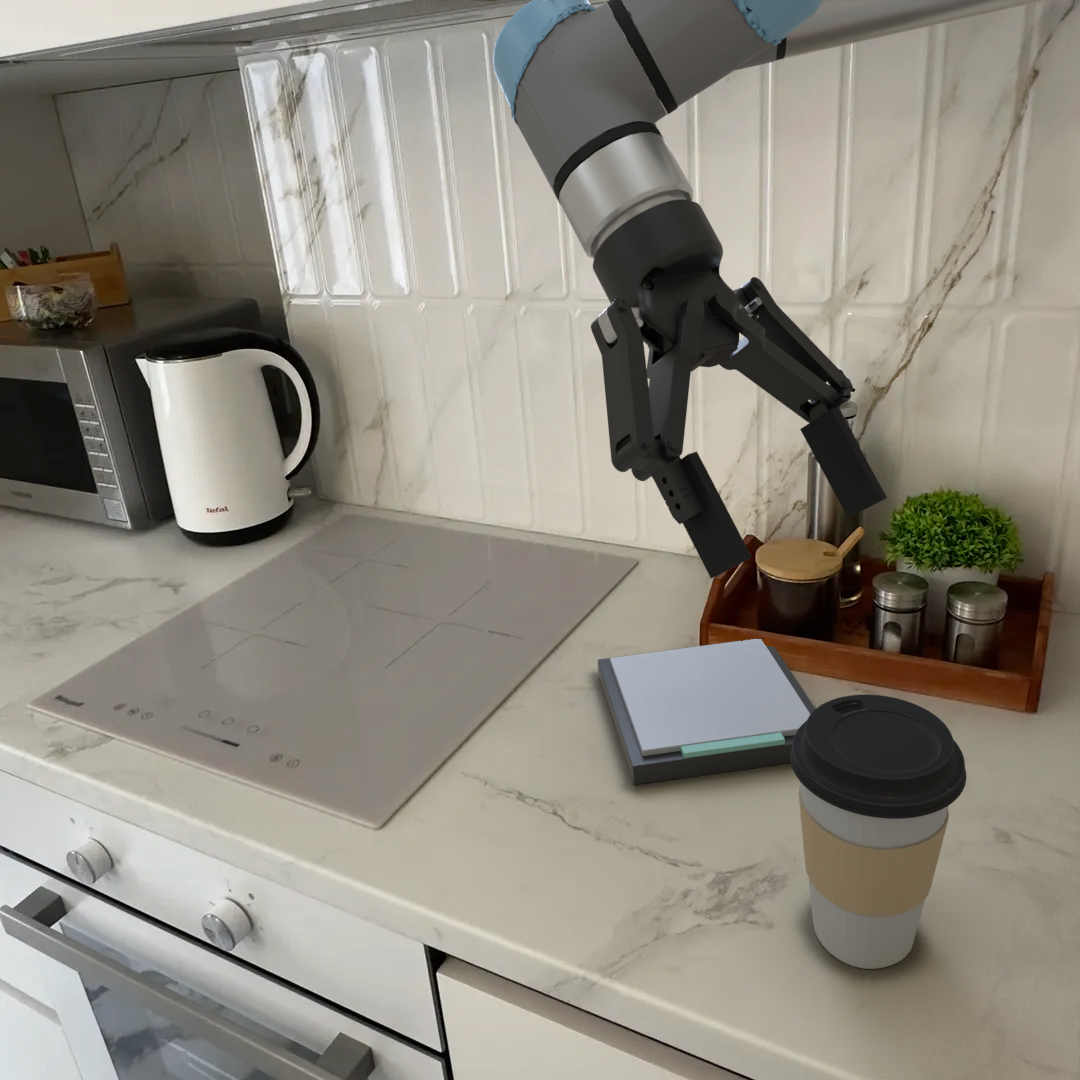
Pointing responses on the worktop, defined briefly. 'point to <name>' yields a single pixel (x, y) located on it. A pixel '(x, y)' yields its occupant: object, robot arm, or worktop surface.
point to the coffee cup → (873, 820)
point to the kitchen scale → (703, 709)
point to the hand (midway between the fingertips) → (804, 536)
